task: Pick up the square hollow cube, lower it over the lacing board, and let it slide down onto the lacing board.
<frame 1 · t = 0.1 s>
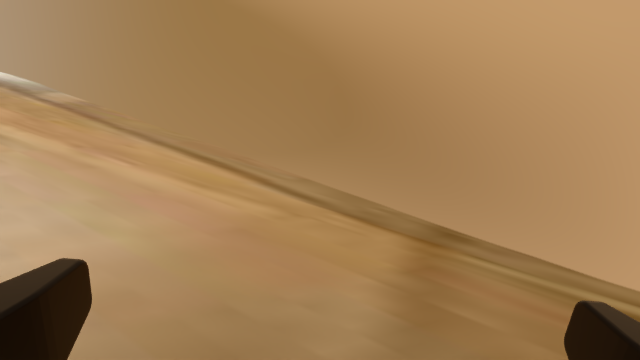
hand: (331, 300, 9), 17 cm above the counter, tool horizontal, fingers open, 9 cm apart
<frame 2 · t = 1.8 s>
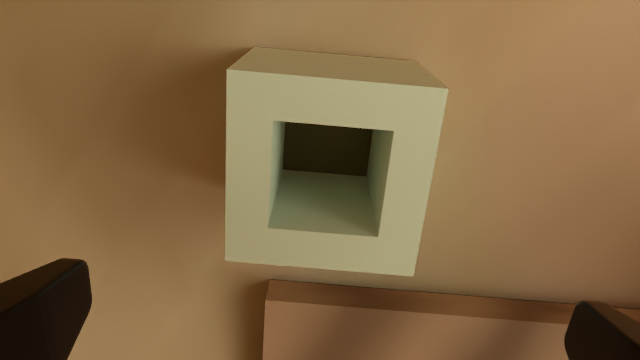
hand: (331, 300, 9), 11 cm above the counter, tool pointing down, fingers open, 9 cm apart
square hollow cube: (328, 132, 19), on the counter
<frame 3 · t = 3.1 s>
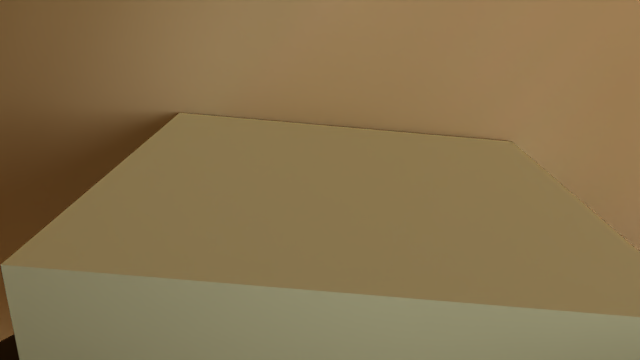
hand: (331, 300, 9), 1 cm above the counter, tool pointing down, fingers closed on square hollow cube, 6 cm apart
square hollow cube: (331, 268, 10), on the counter, touching gripper
when the fingers open (3 cm above the counter, at t = 8.4 s): square hollow cube stays where it is, resting on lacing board.
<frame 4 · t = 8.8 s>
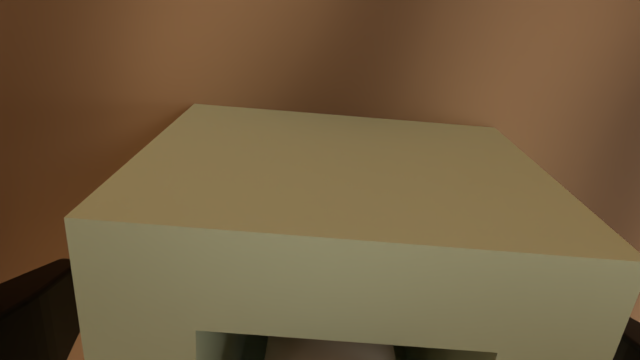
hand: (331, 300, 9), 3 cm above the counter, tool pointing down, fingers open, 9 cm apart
square hollow cube: (332, 246, 11), point 1 cm above the counter, touching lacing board
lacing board: (329, 215, 12), on the counter
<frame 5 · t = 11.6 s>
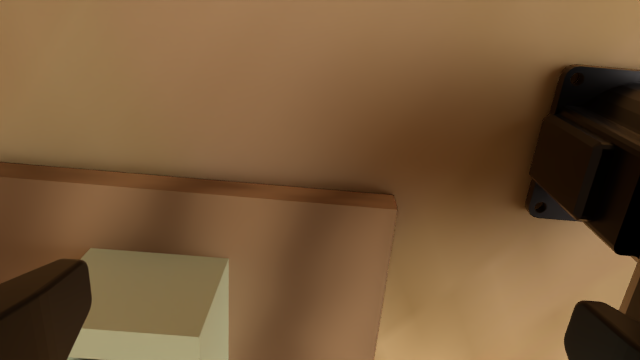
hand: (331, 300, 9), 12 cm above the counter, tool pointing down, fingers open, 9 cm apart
square hollow cube: (163, 309, 22), point 1 cm above the counter, touching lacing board
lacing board: (172, 289, 23), on the counter
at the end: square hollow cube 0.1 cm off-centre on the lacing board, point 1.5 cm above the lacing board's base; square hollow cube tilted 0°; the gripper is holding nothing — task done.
